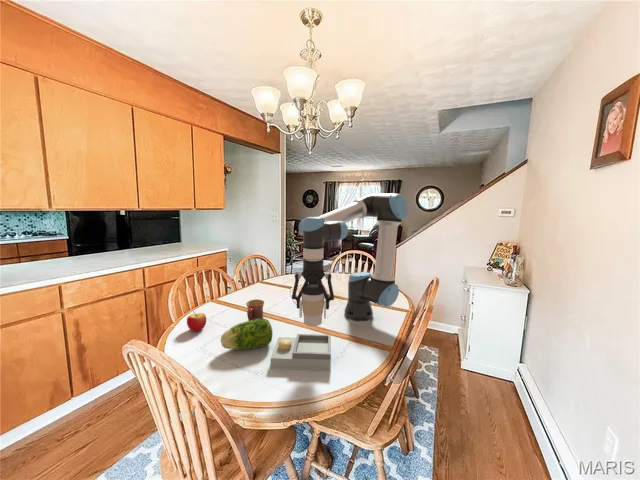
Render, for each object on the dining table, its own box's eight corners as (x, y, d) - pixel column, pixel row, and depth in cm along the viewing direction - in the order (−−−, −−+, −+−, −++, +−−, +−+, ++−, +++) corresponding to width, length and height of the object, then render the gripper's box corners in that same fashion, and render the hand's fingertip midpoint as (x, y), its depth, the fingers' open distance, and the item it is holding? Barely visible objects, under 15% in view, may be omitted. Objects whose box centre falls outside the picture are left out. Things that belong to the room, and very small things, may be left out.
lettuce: (219, 346, 111) (218, 321, 109) (267, 335, 120) (267, 312, 119) (223, 361, 101) (221, 334, 99) (275, 348, 110) (275, 323, 108)
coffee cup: (327, 319, 105) (328, 282, 102) (320, 329, 96) (320, 290, 94) (306, 315, 107) (306, 280, 105) (297, 325, 99) (297, 287, 97)
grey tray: (330, 347, 111) (330, 334, 110) (330, 370, 96) (330, 355, 95) (278, 345, 112) (278, 332, 111) (270, 368, 97) (270, 353, 96)
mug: (251, 317, 139) (251, 298, 137) (267, 319, 137) (267, 300, 135) (240, 328, 127) (239, 307, 125) (257, 330, 125) (256, 309, 124)
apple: (183, 332, 122) (181, 312, 121) (197, 324, 130) (196, 305, 129) (197, 335, 120) (195, 314, 118) (210, 327, 128) (209, 307, 126)
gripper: (341, 257, 101) (340, 313, 105) (286, 256, 102) (286, 311, 106) (342, 261, 94) (341, 321, 97) (282, 260, 95) (283, 320, 98)
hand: (312, 316), depth 101 cm, fingers closed on coffee cup, 8 cm apart
